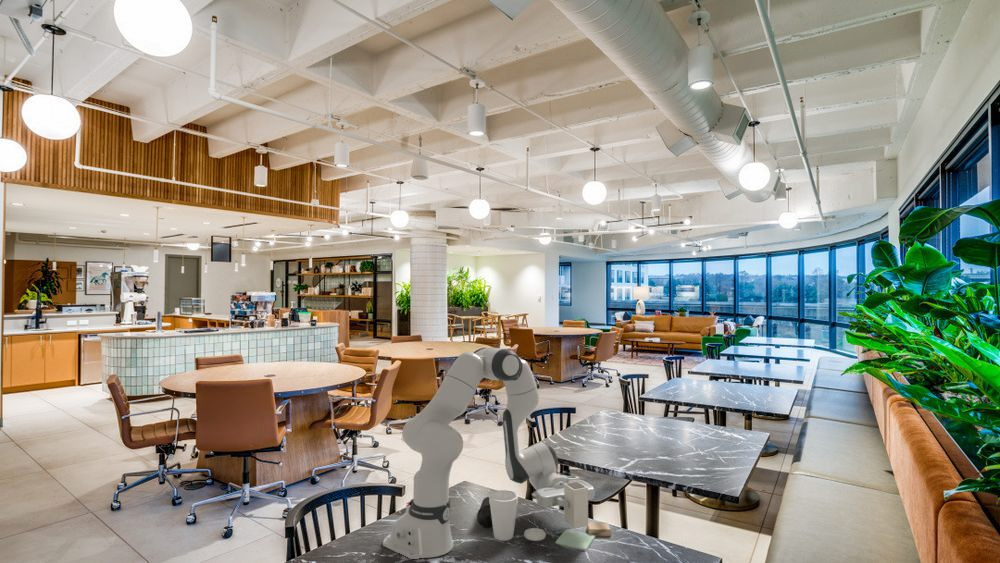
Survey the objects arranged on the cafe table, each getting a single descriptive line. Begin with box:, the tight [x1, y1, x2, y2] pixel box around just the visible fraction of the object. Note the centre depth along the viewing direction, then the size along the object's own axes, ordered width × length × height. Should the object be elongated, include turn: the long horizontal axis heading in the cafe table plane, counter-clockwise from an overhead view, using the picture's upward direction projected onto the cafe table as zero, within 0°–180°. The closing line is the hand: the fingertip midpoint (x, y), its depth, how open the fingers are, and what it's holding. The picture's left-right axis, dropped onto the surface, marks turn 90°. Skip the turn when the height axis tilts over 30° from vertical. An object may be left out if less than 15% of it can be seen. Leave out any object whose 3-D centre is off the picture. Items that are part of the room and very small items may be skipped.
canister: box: [563, 481, 589, 529], centre depth 161 cm, size 6×5×12 cm
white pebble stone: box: [523, 527, 546, 542], centre depth 164 cm, size 7×7×1 cm
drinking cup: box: [476, 496, 493, 529], centre depth 173 cm, size 8×8×20 cm
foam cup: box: [488, 489, 519, 541], centre depth 164 cm, size 10×9×13 cm
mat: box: [555, 528, 596, 552], centre depth 161 cm, size 10×10×1 cm
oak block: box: [586, 522, 612, 537], centre depth 166 cm, size 7×5×2 cm
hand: (577, 503), depth 160 cm, fingers closed on canister, 5 cm apart
